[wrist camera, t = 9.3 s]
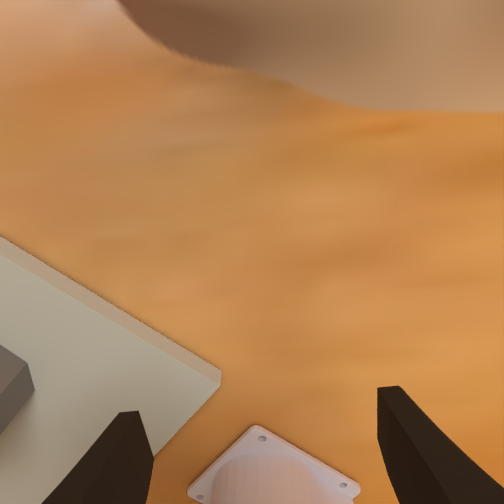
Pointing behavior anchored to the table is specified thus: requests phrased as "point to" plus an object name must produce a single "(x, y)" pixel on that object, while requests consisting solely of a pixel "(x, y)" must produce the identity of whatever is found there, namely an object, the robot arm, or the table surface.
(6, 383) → the knob
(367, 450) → the table surface
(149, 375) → the grey square plate
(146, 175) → the table surface
